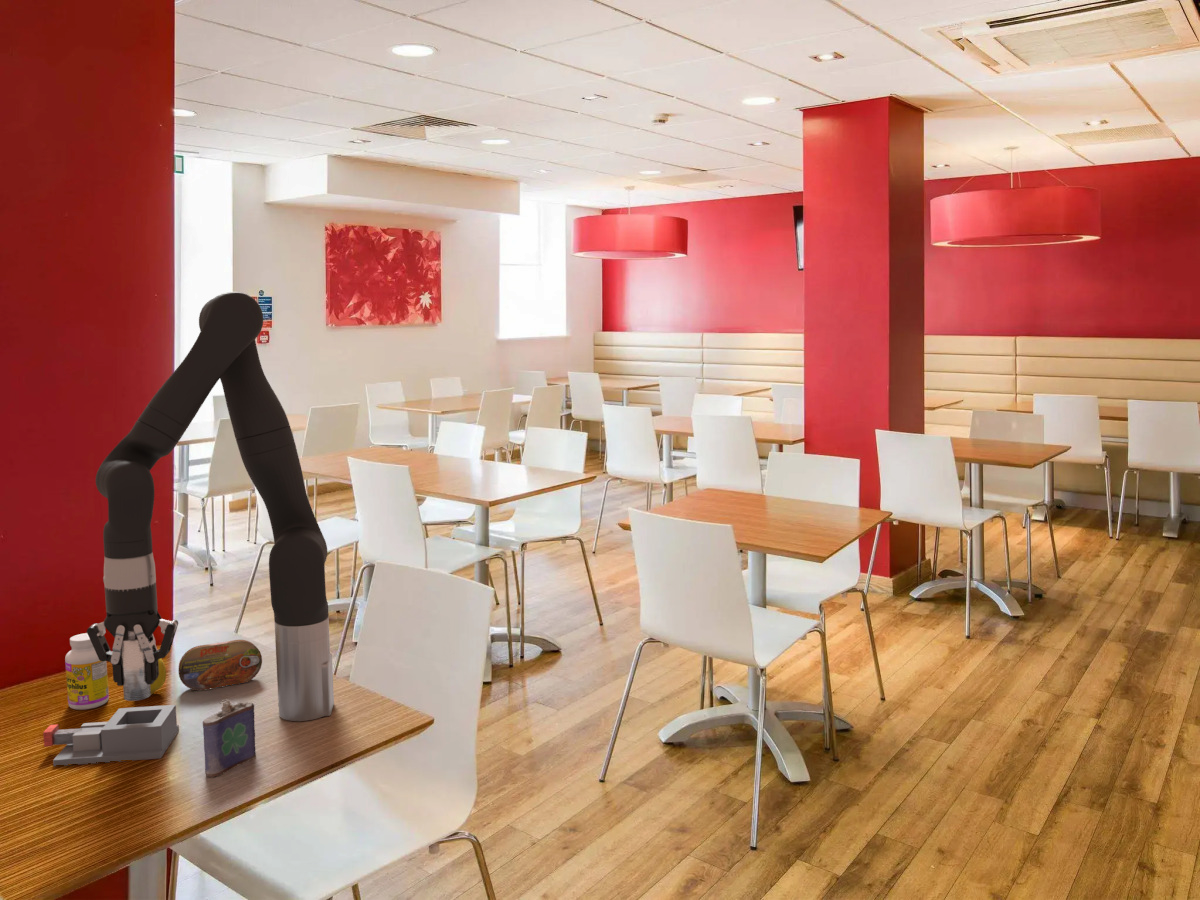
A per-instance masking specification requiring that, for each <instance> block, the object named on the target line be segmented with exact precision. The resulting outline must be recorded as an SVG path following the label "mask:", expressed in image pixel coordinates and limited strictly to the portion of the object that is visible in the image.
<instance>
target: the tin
mask: <svg viewBox="0 0 1200 900" xmlns="http://www.w3.org/2000/svg"><path fill="white" fill-rule="evenodd" d="M262 664H263V656H262V652H261V651H260V649H259V648H258V647H257V646H256V645H255V644H254V643H252V642H251V641H249V640H246V639H233V640H228V641H227V640H226V641H221V642H215V643H209V644H202V645H196V646H193V647H192V648H190V649H188V650H187V651H186V652H185V653H184V654H183V655H182V656H181V659H180V661H179V663H178V677H179V680H180V682H181V684H183V685H184V686H185V687H187V688H188V689H190V690H193V691H197V692H198V691H199V690H201V691H206V690H205V689H207V690H211V689H210V688H213V689H217V688H216V687H219V688H223V687H222V686H225V687H227V686H226V685H231V686H233V685H232V684H237V685H240V684H239V683H242V684H245V682H246V683H248V682H250V681H251V680H253V679H254V678H255V677H256V676H257V675H258V674H259V672H260V670H261V668H262Z"/></svg>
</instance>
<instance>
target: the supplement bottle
mask: <svg viewBox="0 0 1200 900" xmlns="http://www.w3.org/2000/svg"><path fill="white" fill-rule="evenodd" d="M69 645H70V647H71V650H69V651H68V652H67V653H66V654H65V658H64V660H65V661H64V663H65V676H66V677H65V678H66V688H67V689H66V690H67V691H66V692H67V702H68V707H69V708H70V709H73V710H81V711H83V710H85V711H86V710H91V709H96V708H99V707H101V706H103V705H105V704H106V703H107V702H108V701H109V698H110V695H109V694H110V692H109V678H108V667H107V665H108V663H107V661H100V660H99V658H98V656H97V654H96V651H95V649H94V647H93V645H92V643H91V640H90V638H89V636H88V634H87V632H85V633H80V634H79V633H78V634H76V635H73V636H71V637H70V638H69Z"/></svg>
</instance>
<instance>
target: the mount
mask: <svg viewBox="0 0 1200 900" xmlns="http://www.w3.org/2000/svg"><path fill="white" fill-rule="evenodd" d="M177 719H178V718H177V705H176V704H168V705H166V704H165V705H153V706H151V705H150V706H136V707H122V708H119V707H118V709H117V710H116V712H114V714H113V715H112V716H111V717H110V719H109V720H108V721H100V722H99V721H97V722H95V721H94V722H85V723H82V725H81V726H80V728H92V727H103V728H102V729H101V731H92V732H78V733H74V735H73V744H65V746H64V747H63V748H62V750H61V751H60V752H59V753H58V754H57V755H56V756H55V757H54V759H52V763H53V767H57V766H56V765H64V766H69V765H68V764H78V765H89V764H88V763H91V764H99V763H98V762H105V763H111V762H110V761H118V762H122V761H121V760H132V761H142V760H143V761H144V760H157V759H158V760H159V759H162V758H163V757H164V755H165V753H166V752H167V750H168V748H169V747H170V745H171V743H172V742H173V740H174V739H175V737H176V736H177V734H178V733H179V730H180V728H179V727H180V726H179V724H177V723H178V722H177ZM96 762H97V763H96Z"/></svg>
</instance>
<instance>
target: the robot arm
mask: <svg viewBox="0 0 1200 900" xmlns="http://www.w3.org/2000/svg"><path fill="white" fill-rule="evenodd" d="M263 325H264V314H263V310H262V308H261V306H260V304H259V302H257V301H256V299H254V297H252V296H250V295H249V294H248V293H244V292H240V291H229V292H223V293H221V294H218V295H216V296H215V297H213V298H211V299H210V300H208V301H207V302H206V303H205V304H204V305H203V306H202V308H201V310H200V313H199V317H198V327H199V331H200V332H199V335H198V337H197V338H196V340H195V342H194V344H193V345H192V347H191V348H190V350H189V351H188V353H187V354H186V356H185V357H184V359H183V360H182V361H181V363H180V364H179V365H178V366H177V368H176V369H175V370H174V372H173V373H172V374H171V375H170V376H169V377H168V378H167V379H166V381H165V382H164V383H163V384H162V385H161V387H160V388H159V389H158V390H157V392H156V393H155V394H154V395H153V396H152V398H151V399H150V401H149V402H148V404H147V405H146V407H145V408H144V410H143V411H142V413H141V414H140V415H139V416H138V418H137V420H136V421H135V423H134V425H133V427H132V428H131V430H130V431H129V432H127V433H128V434H126V435H125V436H124V437H123V438H122V439H121V440H120V441H119V442H118V443H117V445H116V446H115V447H114V448H113V449H112V450H111V451H110V453H108V455H107V456H106V457H105V459H104V460H102V463H101V464H100V466H99V468H98V470H97V472H96V475H95V485H96V489H97V490H98V492H99V493H100V494H101V496H103V497H104V498H106V499H107V507H108V509H107V510H108V512H107V515H108V518H107V519H108V521H107V522H106V523H105V524H104V525H103V526H104V527H103V533H102V534H103V535H102V537H103V538H102V539H103V540H102V541H103V552H104V553H103V555H104V561H103V577H102V580H103V584H104V597H105V613H106V617H105V618H104V620H103V621H102V622H99V623H96V622H95V623H93V624H91V625H89V627H88V628H87V629H86V633H87V634H88V636H89V638H90V640H91V643H92V645H93V647H94V649H95V651H96V654H97V656H98V658H99V660H100V661H106V662H108V663H110V664H111V667H112V679H113V682H114V683H116V685H117V686H118V687H123V675H122V659H121V649H122V642H123V640H128V631H132V630H134V631H135V639H138V640H139V643H140V646H141V649H142V650H143V651H144V654H145V656H146V659H147V661H148V662H147V663H146V672H147V684H153V683H154V682H155V680H156V679H157V678H158V676H159V665H158V659H164V658H166V656H167V655H169V654H170V651H171V648H172V645H173V641H174V640H175V635H176V634H177V629H178V626H179V621H178V620H177V619H172V620H169V619H168V620H167V619H164V618H162V616H161V614H160V613H159V611H158V610H159V609H158V596H157V595H158V593H157V575H156V572H157V571H156V563H155V558H154V553H153V535H152V526H151V524H152V519H153V515H154V513H153V511H154V505H155V483H154V478H153V475H152V473H151V470H152V468H153V467H154V466H155V465H156V463H157V462H158V461H159V460H160V459H162V458H164V457H167V456H168V455H169V454H170V453H172V451H173V450H174V449H175V447H176V446H177V444H178V443H179V441H180V440H181V438H182V437H183V435H184V433H185V432H186V431H187V429H188V428H189V427H190V425H191V424H192V421H193V420H194V418H195V417H196V415H197V413H198V412H199V410H200V409H201V407H202V406H203V404H204V403H205V401H206V399H207V398H208V396H209V395H210V394H211V392H212V390H213V388H214V387H215V385H216V384H217V383H218V381H219V380H220V382H221V385H222V390H223V395H224V399H225V403H226V407H227V412H228V416H229V419H230V423H231V426H232V431H233V434H234V437H235V441H236V444H237V447H238V451H239V455H240V457H241V461H242V463H243V465H244V468H245V470H246V472H247V474H248V477H249V478H250V481H251V482H252V484H253V486H254V487H255V489H256V491H257V492H258V494H259V495H260V497H261V499H262V500H263V503H264V505H265V508H266V511H267V514H268V515H267V516H268V518H269V521H270V526H271V531H272V536H273V537H272V538H273V543H274V544H273V546H272V547H271V550H270V552H269V556H268V573H269V574H268V575H269V576H268V577H269V589H270V602H271V604H270V605H271V608H272V611H273V618H274V619H273V620H274V635H275V636H274V641H275V660H276V680H277V684H276V685H277V698H278V699H277V701H278V702H277V703H278V704H277V706H278V715H279V717H280V718H281V719H283V720H285V721H292V722H305V721H312V720H316V719H319V718H322V717H329V716H331V715H332V711H333V708H334V704H335V698H334V697H335V695H334V672H333V671H334V669H333V668H334V667H333V654H332V653H331V646H330V645H331V643H330V638H331V637H330V621H329V620H330V619H329V618H330V617H329V616H330V615H329V602H328V599H327V592H326V571H325V569H326V567H325V563H326V562H327V557H328V546H327V545H328V544H327V542H326V539H325V537H324V535H323V531H322V530H321V528H320V525H319V524H318V521H317V518H316V516H315V514H314V511H313V508H312V506H311V504H310V501H309V498H308V494H307V491H306V490H307V489H306V486H305V480H304V475H303V470H302V467H301V462H300V457H299V453H298V449H297V446H296V441H295V438H294V435H293V432H292V428H291V425H290V422H289V419H288V415H287V414H286V411H285V409H284V408H283V406H282V405H283V404H282V403H281V401H280V400H279V397H278V396H277V395H276V393H275V391H274V389H273V388H272V387H271V385H270V383H269V381H268V379H267V377H266V375H265V372H264V370H263V367H262V364H261V360H260V356H259V353H258V347H257V341H256V339H257V338H258V337H259V335H260V334H261V332H262V329H263ZM158 627H159V628H160V632H161V633H162V635H163V637H162V641H161V644H160V646H159V649H158V647H157V645H156V638H155V636H154V632H155V631H156V629H157V628H158ZM106 630H107V631H108V633H110V634H111V636H112V637H113V638H114V641H113V644H112V648H111V647H110V646H109V642H108V641H107V639H106V636H105V634H106V633H107V632H106ZM111 649H112V650H111Z"/></svg>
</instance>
